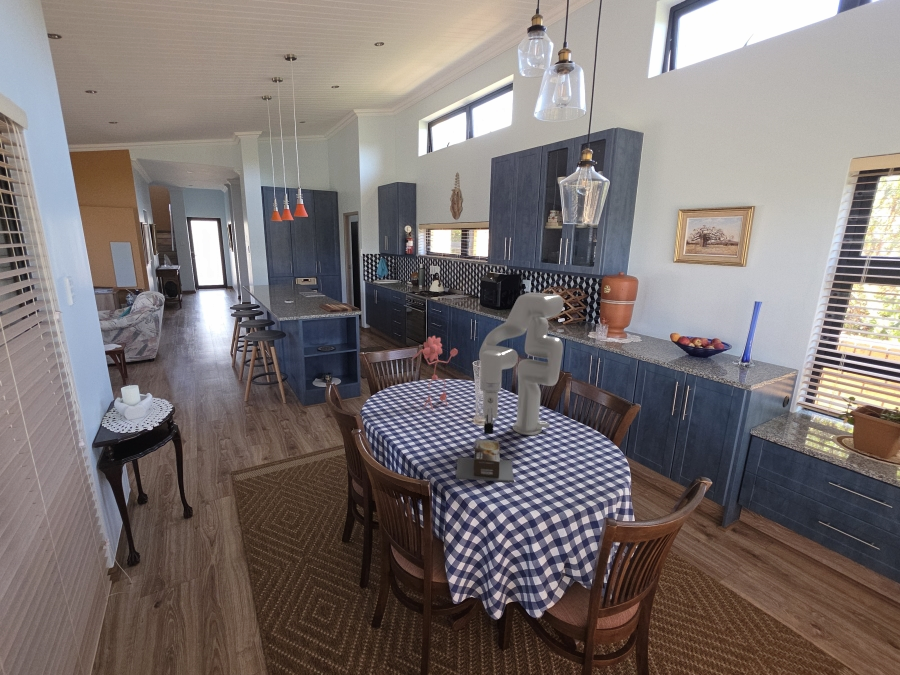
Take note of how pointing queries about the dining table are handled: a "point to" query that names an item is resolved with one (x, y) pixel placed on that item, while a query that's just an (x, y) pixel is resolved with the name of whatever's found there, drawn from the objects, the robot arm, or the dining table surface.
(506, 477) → the mat
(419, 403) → the dining table surface
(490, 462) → the coffee box
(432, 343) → the pink stick figure toy
